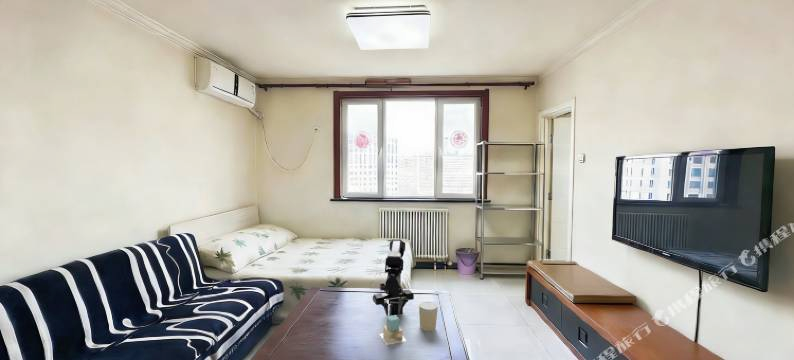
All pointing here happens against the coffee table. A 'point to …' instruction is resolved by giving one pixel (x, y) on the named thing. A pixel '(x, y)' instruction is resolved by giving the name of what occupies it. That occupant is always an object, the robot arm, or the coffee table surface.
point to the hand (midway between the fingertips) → (393, 314)
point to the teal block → (392, 323)
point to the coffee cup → (428, 316)
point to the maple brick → (392, 334)
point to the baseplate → (391, 342)
